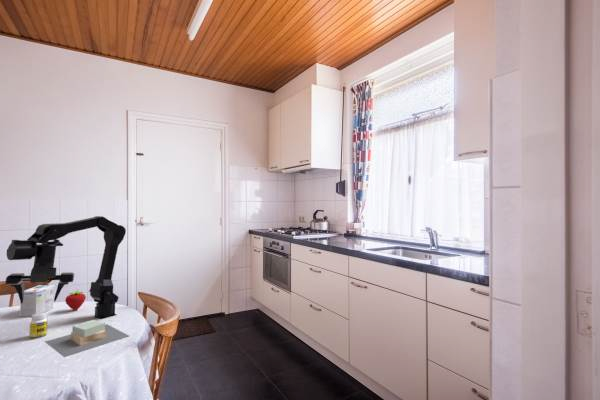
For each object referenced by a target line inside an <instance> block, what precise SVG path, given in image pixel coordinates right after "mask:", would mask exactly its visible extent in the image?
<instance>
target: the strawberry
mask: <svg viewBox="0 0 600 400" xmlns="http://www.w3.org/2000/svg"><path fill="white" fill-rule="evenodd" d="M76 290H77V291H75V292H69V294H68V295H67V296H66V297H65V304H66V305H67V306H68V307H69V308H70V309H72V311H73V312H74V311H75V312H76V311H78V310H79V309H80V308H81V306H82V305H84V304H83V303H84V302H85V301H86V298H87V297H86V295H85V294H84V291H79V290H78V289H76Z"/></svg>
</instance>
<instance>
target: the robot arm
mask: <svg viewBox="0 0 600 400" xmlns="http://www.w3.org/2000/svg"><path fill="white" fill-rule="evenodd" d="M93 228H97V229H98V230H99V231H101V232H102V233H103V240H104V243H105V245H104V250H103V251H104V252H103V255H102V260H101V264H100V269H99V272H98V277H97V279H96V280H95V281H92V282H90V289H88V292H89V295H90V297H91V298H92V299H93V301H94V303H96V306H95V307H94V316H93V317H94V318H97V319H99V320H103V319H107V318H108V319H109V318H110V317H114V316H117V313H116V303H118V301H119V296H118V295H117V294H116V293H115V292H114V283H113V280H112V277H113V273H114V267H115V263H116V259H117V253H118V248H119V246H120V244H121V243H122V242H123V240H124V238H125V237H126V236H125V235H126V232H127V231H126V230H127V229H126V228H125V226H123V225H120V224H119V225H118V223H115V222H114V221H111V220H109V219H108V218H107V217H104V216H102V215H100V216H99V215H96V216H93V217H89V218H84V219H83V218H82V219H79V220H74V221H69V222H64V223H60V222H59V223H58V222H57V223H42V224H39V225H38V226H37V227H36V229H35V231H34V233H32V235H31V236H29V237H28V238H26V240H25V239H22V240H19V239H11V243H10V244H9V245H8V247H7V249H6V258H7V260H8V261H22V260H32V258H34V261H33V267H32V268H31V270H30V275H25V273H23V272H22V273H21V272H20V273H19V272H18V273H11V274H9V275H7V276H6V278H5V284H6V285H9V286H10V287H14V288H15V290H16V293H17V294H18V297H19V301H20V304H21V303H23V300H24V291H25V282H30V283H31V284H32V283H33V284H35V283H47V282H48V281H59V282H58V284H57V288H56V292H55V294H54V296H53V303H54V302H56V301H57V299H58V297H59V295H60V293H61V291H62V289H63V288H64V287H65V285H69V283H73V282H74V278H75V273H74V272H61V273H60V274H57V267H55V266H54V265H55V258H56V257H55V256H56V250H57V247H63V246H64V244H63V243H62V242H61V241H60V238H63V237H66V236H67V235H68V234H69V235H70V234H71V233H74V232H79V231H83V230H87V229H93Z"/></svg>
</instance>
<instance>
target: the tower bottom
mask: <svg viewBox="0 0 600 400" xmlns="http://www.w3.org/2000/svg"><path fill="white" fill-rule="evenodd" d="M70 334H71V340H72V341H74V342H75V343H77V344H78V345H80V346H81V345H84V344H88V343H91V342H94V341H97V340H101V339H104V338H106V331H105V330H103V331H101V332H98V333H95V334H92V335H89V336H87V337H82V336H79V335H76V334H73V333H72V331H71V332H70Z"/></svg>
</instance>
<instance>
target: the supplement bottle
mask: <svg viewBox="0 0 600 400" xmlns="http://www.w3.org/2000/svg"><path fill="white" fill-rule="evenodd" d="M47 332H48V318H47V312H43V313H36V314H33V315H32V316H31V320H30V322H29V339H30V340H39V339H43V338H45V337H46V336H47Z"/></svg>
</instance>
